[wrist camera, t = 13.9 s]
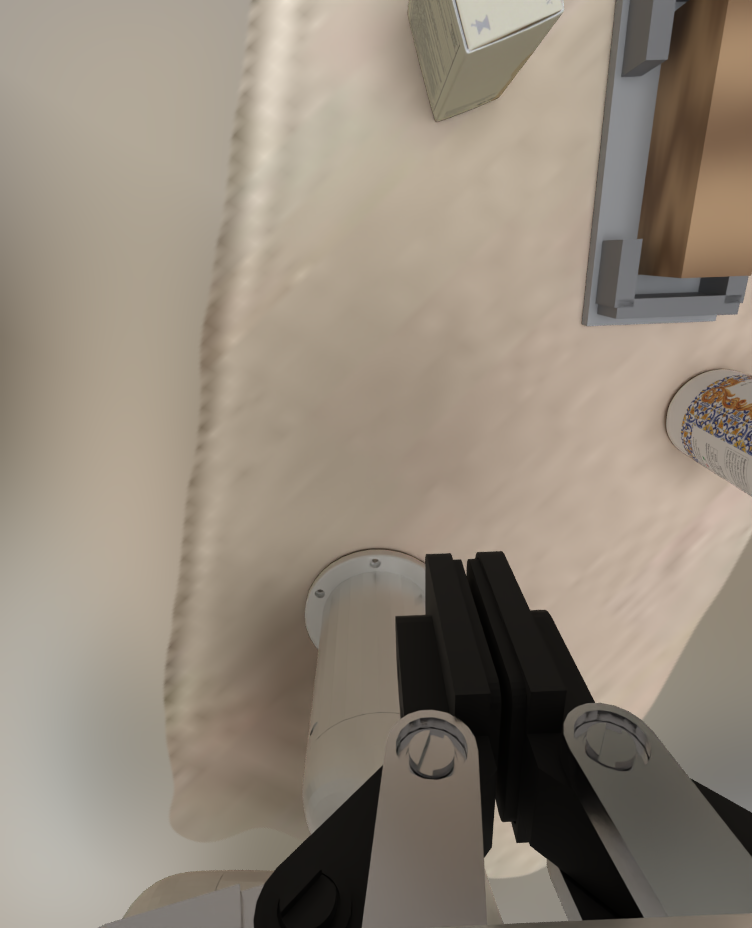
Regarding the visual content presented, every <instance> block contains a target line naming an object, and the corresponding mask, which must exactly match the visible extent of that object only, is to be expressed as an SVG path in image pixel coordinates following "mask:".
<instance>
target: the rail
mask: <svg viewBox="0 0 752 928" xmlns="http://www.w3.org/2000/svg"><path fill="white" fill-rule="evenodd" d="M687 1H689V0H616V6H615V15H614V25H613V34H612V44H611V53H610V63H609V72H608V81H607V91H606V100H605V110H604V119H603V129H602V138H601V147H600V157H599V166H598V176H597V185H596V194H595V204H594V213H593V223H592V232H591V242H590V251H589V260H588V270H587V279H586V289H585V298H584V308H583V317H582V324H583V325H586V326H601V325H627V324H652V323H678V322H703V321H716V316H717V315H732V314H737V313H738V309H739V304H740V303H743V300H744V295H745V290H746V286H747V281H748V276H728V277H701V278H673V277H661V276H649V275H638V269H639V262H640V255H641V248H642V241H643V239H637V235H638V228H639V221H640V214H641V206H642V199H643V192H644V185H645V177H646V170H647V163H648V155H649V148H650V141H651V134H652V126H653V119H654V112H655V105H656V97H657V90H658V83H659V75H660V68H661V63H663V62H665V61H666V60H668V55H669V47H670V40H671V33H672V26H673V19H674V12H675V11H676V10H677V9H678V8H680V7H681V6H682V5H683V4H685V3H686V2H687Z"/></svg>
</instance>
